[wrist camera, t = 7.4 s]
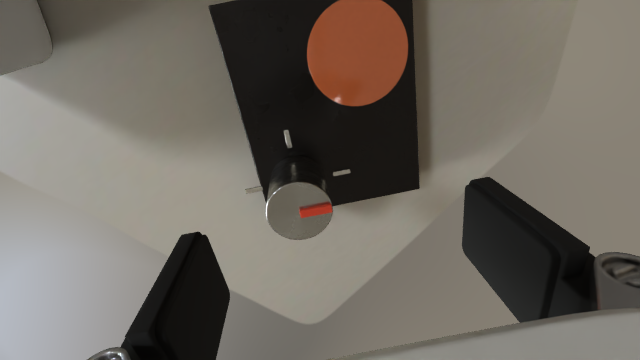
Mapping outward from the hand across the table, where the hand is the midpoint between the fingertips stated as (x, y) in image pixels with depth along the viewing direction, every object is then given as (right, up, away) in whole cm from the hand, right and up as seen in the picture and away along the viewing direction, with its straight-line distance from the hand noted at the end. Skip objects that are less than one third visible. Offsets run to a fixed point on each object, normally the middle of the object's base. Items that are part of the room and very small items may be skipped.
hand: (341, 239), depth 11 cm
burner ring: (+2, +11, +10) cm, 15 cm away
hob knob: (-3, +2, +13) cm, 14 cm away
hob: (0, +8, +14) cm, 16 cm away
